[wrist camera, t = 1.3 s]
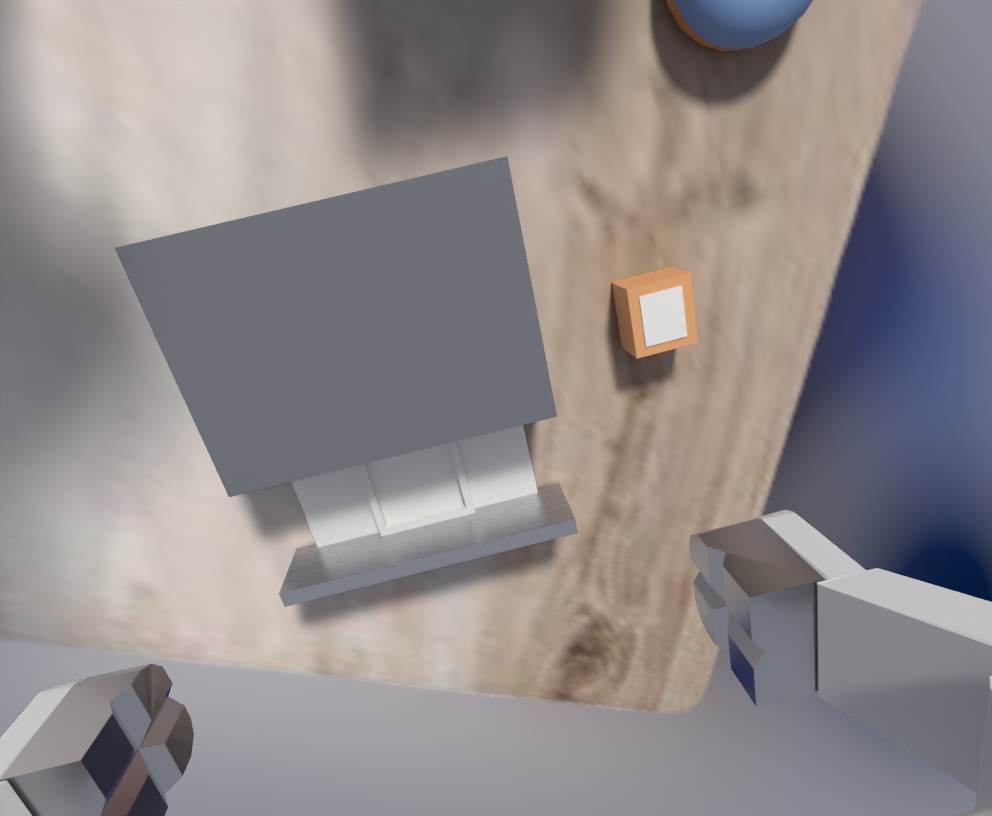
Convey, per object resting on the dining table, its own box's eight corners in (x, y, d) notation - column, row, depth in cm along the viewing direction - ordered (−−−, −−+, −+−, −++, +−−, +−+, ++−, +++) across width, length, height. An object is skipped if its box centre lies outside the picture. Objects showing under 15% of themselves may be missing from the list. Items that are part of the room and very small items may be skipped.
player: (167, 240, 36) (114, 248, 30) (494, 163, 37) (507, 156, 31) (258, 454, 42) (229, 497, 36) (539, 385, 42) (556, 416, 36)
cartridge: (610, 282, 40) (627, 289, 37) (669, 266, 41) (691, 272, 37) (621, 346, 42) (637, 359, 39) (677, 331, 42) (698, 342, 39)
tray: (226, 381, 40) (195, 409, 34) (524, 310, 40) (538, 327, 35) (301, 559, 45) (284, 606, 40) (560, 494, 46) (577, 532, 41)
